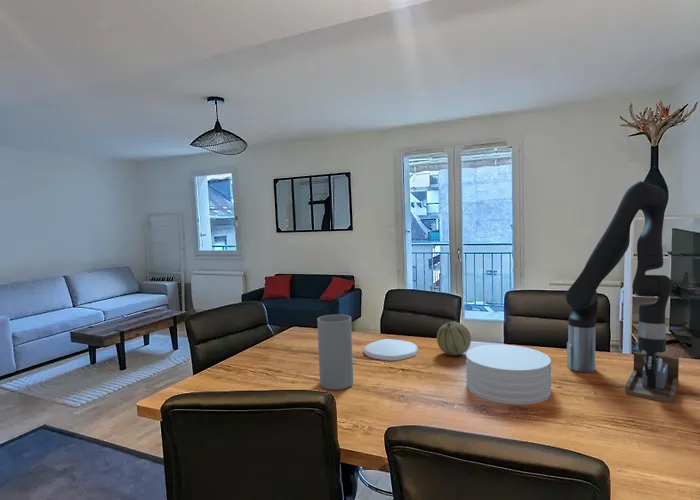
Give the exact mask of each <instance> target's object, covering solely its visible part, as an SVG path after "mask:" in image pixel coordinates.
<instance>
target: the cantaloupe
mask: <svg viewBox="0 0 700 500" xmlns="http://www.w3.org/2000/svg"><path fill="white" fill-rule="evenodd" d="M471 336H472V335H471V332H470V331H469V330H468V327H466V326H465V325H464V324H462V323H461V322H458V321H448V322H446V323H444V324H442V325H441V326H440V327H439V329H438V331H437V334H436V343H437V346H438V347H439V349H440V350H441V351H442V352H443V353H445V354H446V355H448V356H460V355H462V354H464V353H467V351H468V350H469V348H470V347H471V342H472V341H471V340H472V337H471Z"/></svg>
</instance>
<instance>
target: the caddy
mask: <svg viewBox="0 0 700 500" xmlns="http://www.w3.org/2000/svg"><path fill="white" fill-rule="evenodd" d="M657 371H658V372H657V376H656V388H655V389H656V390H661V391H664V390H665V387H666V384H667V381H668V363H662V359H660V360H659V368H658V370H657ZM645 374H646V372H645V366H644V368H643V369H642V387H646V388H648V387H647V376H646V375H645Z"/></svg>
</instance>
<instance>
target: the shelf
mask: <svg viewBox="0 0 700 500" xmlns="http://www.w3.org/2000/svg"><path fill="white" fill-rule="evenodd" d="M645 354H646V353H642V352H640V351H634V352H633V370H632V372H631V374H630V376H629V378H628V380H627V381H626V382H625V383H626V384H625V385H624V388H625V389H624V394H625V395H630V396H635V397H639V398H644V399H649V400H655V401H658V402H663V403H669V404H673V405H674V404H675V401H676V400H675V399H676V396H677V391H678V387H679V371H680V370H679V367H680V364H679V363H680V358H678V357H673V356H666V355H662V356H660V355H657V356H660V359H662V363H668V381H667V384H666V387H665V390H664V391H661V390H656V389H651V388H646V387H642V369H643V368H644V364H645V361H644V356H645Z"/></svg>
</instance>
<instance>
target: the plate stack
mask: <svg viewBox="0 0 700 500" xmlns="http://www.w3.org/2000/svg"><path fill="white" fill-rule="evenodd" d="M465 359H466V361H465V369H466V370H465V371H466V375H465V377H466V380H465V381H466V382H465V383H466V384H465V385H466V387H467V389H468V391H469V392H471V393H472V394H473V395H474V396H478V397H479V398H482V399H484V400H487V401H491V402H495V403H499V404H506V405H507V404H508V405H531V404H538V403H542V402H544V401H546V400H548V399H549V398H550V397H551V396H552V389H551V388H552V367H551V366H552V360H551V358H550V356H549V355H547V354H546V353H544V352H542V351H539V350H537V349H533V348H530V347H525V346H518V345H510V344H485V345H479V346H476V347H475V346H474V347H472V348H470V349H468V350H467V351H466V352H465Z"/></svg>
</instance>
